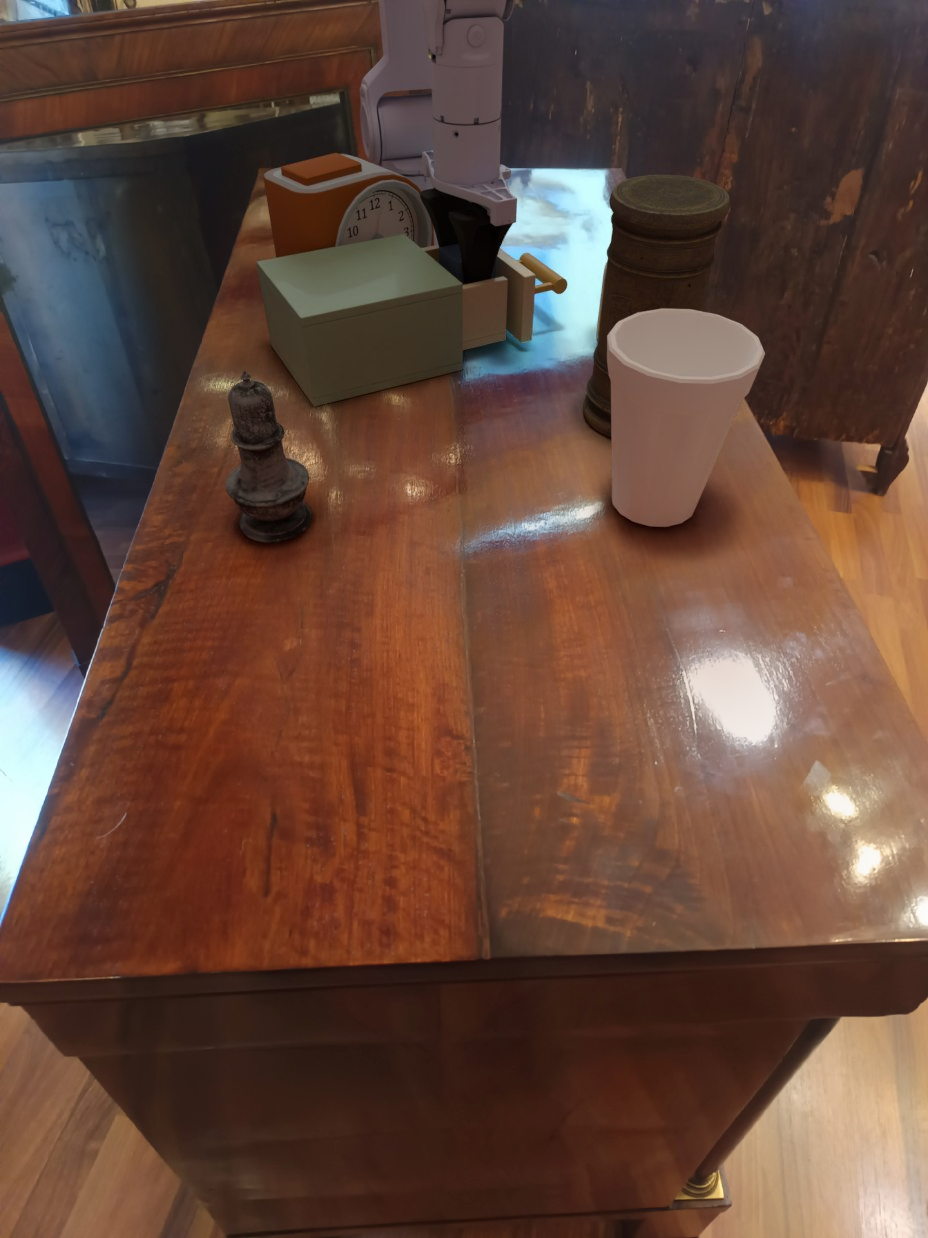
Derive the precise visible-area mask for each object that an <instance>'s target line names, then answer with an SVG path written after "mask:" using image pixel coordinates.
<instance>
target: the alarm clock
mask: <svg viewBox="0 0 928 1238" xmlns="http://www.w3.org/2000/svg"><path fill="white" fill-rule="evenodd" d="M263 185H264V191H265V198H266V203H267V208H268V215H269V222H270V228H271V234H272V240H273V246H274V253H275V258H278V257H284V256H289V255H294V254H300V253H305V252H310V251H316V250H321V249H326V248H332V247H337V246H342V245H348V244H353V243H358V242H364V241H369V240H374V239H380V238H385V237H390V236H396V235H401V234H405V235H406V236H407V237H409V238H410V239H411V240H412V241H413V242H414V243H416V244H417V245H418V246H419V247H420V248H425V247H430V246H434V228H433V224H432V221H431V219H430V216H429V214H428V212H427V210H426V208H425V206H424V204H423V202H422V200H421V198H420V193H421V190H420V189H419V187H418V186H417V185H416V184H415V183H414V182H412V181H411V180H410V179H408V178H407V177H405V176H403V175H400V174H398V173H395V172H393V171H390V170H388V169H385V168H383V167H380V166H378V165H375V164H373V163H371V162H370V161H369V160H368V161H367V160H365V159H362V158H360V157H358V156H354V155H350V154H347V153H338V152H334V153H329V154H325V155H322V156H317V157H314V158H310V159H306V160H302V161H298V162H294V163H290V164H286V165H281V166H280V167H276V168H273V169H270V170H268V171H266V172H265V173H264V174H263Z"/></svg>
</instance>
